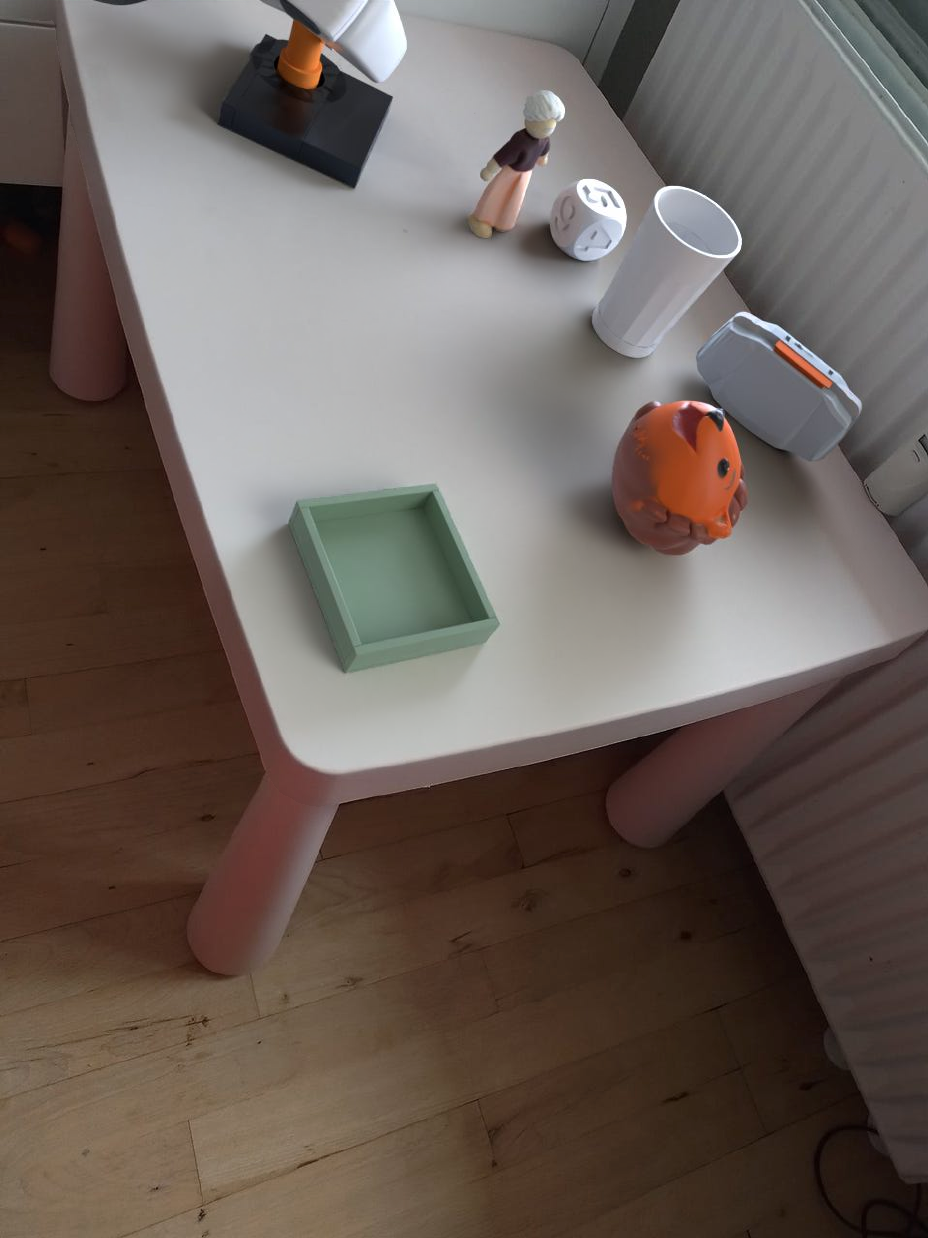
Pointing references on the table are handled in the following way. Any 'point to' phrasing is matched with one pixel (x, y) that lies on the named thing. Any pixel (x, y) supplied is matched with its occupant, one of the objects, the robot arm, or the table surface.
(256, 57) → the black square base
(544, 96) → the grandmother figurine
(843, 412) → the gray clasp case
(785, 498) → the table surface
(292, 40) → the plug
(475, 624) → the basin
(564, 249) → the die
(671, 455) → the orange fox figurine
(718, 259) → the cup
